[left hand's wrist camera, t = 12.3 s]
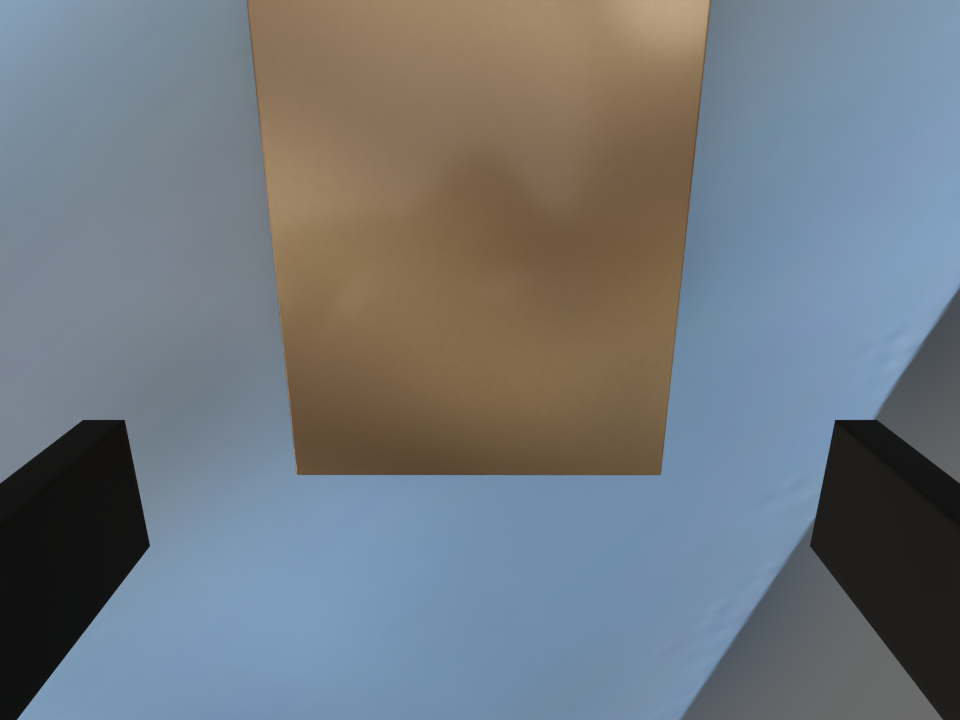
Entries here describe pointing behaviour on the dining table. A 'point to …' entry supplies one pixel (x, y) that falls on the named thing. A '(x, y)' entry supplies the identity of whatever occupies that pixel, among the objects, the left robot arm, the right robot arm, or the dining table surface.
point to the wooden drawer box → (478, 227)
